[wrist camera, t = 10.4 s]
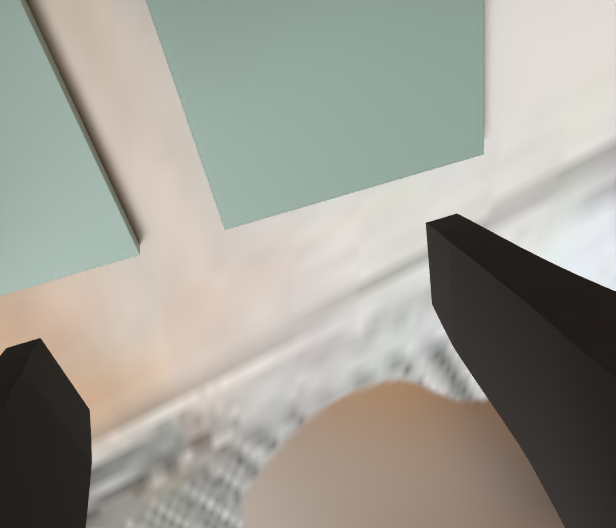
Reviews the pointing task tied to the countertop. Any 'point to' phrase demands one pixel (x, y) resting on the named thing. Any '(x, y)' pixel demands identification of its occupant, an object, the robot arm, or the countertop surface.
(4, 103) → the pair of green tiles
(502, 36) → the countertop surface
